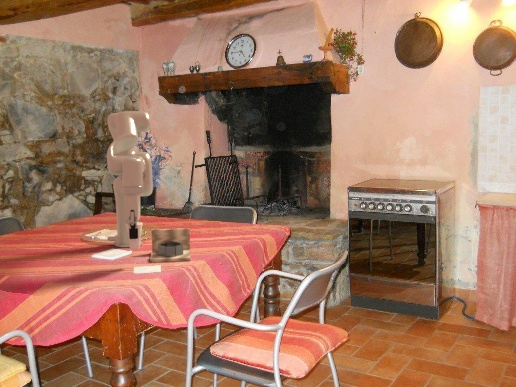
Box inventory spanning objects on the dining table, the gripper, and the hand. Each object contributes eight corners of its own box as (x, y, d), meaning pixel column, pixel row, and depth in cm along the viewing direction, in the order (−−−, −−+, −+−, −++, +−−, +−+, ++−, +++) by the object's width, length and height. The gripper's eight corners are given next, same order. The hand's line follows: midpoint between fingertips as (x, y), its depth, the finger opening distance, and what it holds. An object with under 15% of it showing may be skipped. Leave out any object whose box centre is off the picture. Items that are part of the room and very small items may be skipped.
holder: (150, 262, 208) (149, 237, 206) (152, 252, 223) (151, 229, 222) (190, 260, 210) (189, 235, 208) (190, 251, 226) (189, 228, 224)
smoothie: (136, 244, 205) (135, 210, 203) (146, 247, 201) (145, 212, 199) (123, 248, 200) (121, 212, 198) (133, 251, 196) (132, 214, 194)
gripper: (125, 187, 205) (127, 231, 208) (120, 194, 188) (122, 242, 191) (144, 186, 206) (146, 231, 209) (141, 193, 190) (142, 241, 192)
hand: (134, 236), depth 200 cm, fingers closed on smoothie, 6 cm apart
